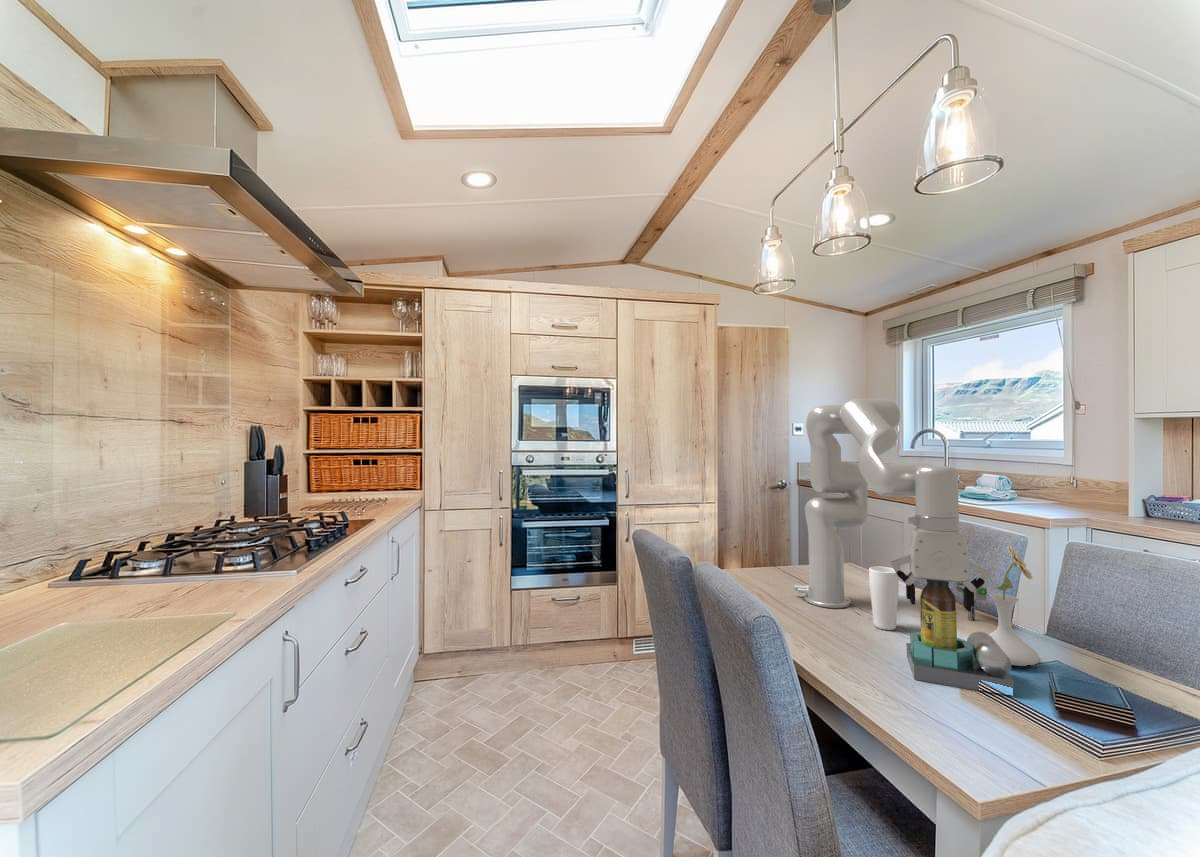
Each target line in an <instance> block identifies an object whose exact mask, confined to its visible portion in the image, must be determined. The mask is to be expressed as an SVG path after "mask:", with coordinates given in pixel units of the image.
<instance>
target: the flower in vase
mask: <svg viewBox="0 0 1200 857" xmlns="http://www.w3.org/2000/svg"><path fill="white" fill-rule="evenodd" d="M1006 549H1007V551H1008V553H1009V555H1010V557H1011V559H1012V563H1011V565H1010V566H1009V568H1008V569H1007V570H1006V572H1005V574H1004V578H1003V583H1002V584H1001V585H1000V586H998V587H997V588H996V589H997V590H1001V591H1002V593H990V594H989V597H990V598H991V600H993V602H994V605H995V607H996V611H997V616H998V617H997V622H998V624H997V627H996V629H995V630H994V631H992V632H990V633H988V634H989V635H990V636H991V637H992V638H993V639H994V640H995V641H996V643H997V644H998V645H999V646H1000V648H1001V649H1002V650H1003V651H1004V653H1005V654H1006V655H1007V657H1008V658H1009V659H1010V661H1011V666H1017V667H1028V666H1027V665H1031V666H1036V665H1037V664H1038V663H1040V661H1041V658H1040V655H1039V654H1038V653H1037V651H1036V650H1034V648H1033V647H1031V646H1030V645H1029V644H1028V643H1026V642H1025V641H1024V640H1022V639H1021V638H1020V637H1019V636H1018V635H1017V634H1016V633H1015V632H1014V630H1013V626H1012V614H1013V613H1012V612H1013V610H1014V609H1013V608H1014V607H1015V605H1016V603H1017V602H1019V600H1020V599H1019V598H1018V597H1016V596H1013V595H1009V594H1006V591H1007V590H1009V589H1013V588H1014V585H1013V584H1012V581H1011V579H1010V578H1009V577H1008V576H1009V573H1010V571H1011V569H1012V568H1013V567H1014V566H1015V567H1018V569H1019V570H1020V572H1021V573H1022V574H1023V576H1025V577H1026V578H1027V579H1028V580H1033V577H1032V576H1033V574H1032V572H1030V570H1029V569H1028V568H1026V567H1027V565H1026V563H1025V561H1022V560H1021V557H1020V555H1019V553H1018V552H1017V551H1016V552H1015V549H1014V547H1013V545H1009V544H1007V545H1006ZM1035 664H1036V665H1035Z"/></svg>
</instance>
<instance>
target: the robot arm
mask: <svg viewBox="0 0 1200 857" xmlns="http://www.w3.org/2000/svg"><path fill="white" fill-rule="evenodd" d="M900 420H901V411H900V408H899V406H898V405H897V404H896V403H895V402H894V400H891V399H889V398H853V399H850V400H848V401H846V402H844V403H843V404H826V405H819V406H816V407H813V408H812V409H810V411H809V412H808V414H807V417H806V422H805V428H806V434H807V437H808V442H809V446H810V455H809V456H810V458H809V459H810V464H809V465H810V467H809V468H810V470H809V472H810V474H809V475H810V484H811V485H810V486H811V487H812V489H813V490H814V491H815V492H817V493H826V494H830V493H831V494H832V493H833V494H834V493H835V494H842V493H843V494H844V496H820V497H813V498H811V499H809V500H808V501H807V502H806V504H805V505H804V517H805V522H806V525H807V526H806V527H807V532H808V533H807V535H808V560H809V563H808V564H809V565H808V568H809V570H808V571H809V582H808V584H805V585H803V584H802V585H801V584H798V583H797V584H796V583H794V585H793V589H794V591H796V592H797V593H801V594H804V600H805V602H807V603H808V602H809V604H811V605H814V606H817V607H821V608H829V609H842V608H848V607H850V606H851V599H849V598H848V597H847V596H845V562H844V561H845V560H844V559H845V558H844V557H845V556H844V545H843V544H844V543H843V541H842V539H841V537H840V536H839V535H838V533H837V531H836V530H838V529H859V528H862V527H863V526H864V525H865V524H866V522H867V519H868V510H869V509H868V506H869V505H868V503H869V502H868V501H869V498H868V497H869V496H868V495H869V494H868V493H869V492H868V491H869V488H868V487H870V488H871V490H872V491H873V492H875V493H876V494H878V495H879V496H882V497H887V498H892V497H893V498H895V497H896V498H897V497H901V498H902V497H903V498H906V497H910V498H911V497H912V498H915V515H914V516H911V517H908V518H907V523H908V524H912V525H914V526H915V527H916V528H913V529H912V532H911V538H910V545H909V547H910V548H909V554H908V555H905V556H902V557H900V558H897V559H894V560H892V561H890V565H891V568H893V569H894V570H895V572H896V574H897V575H898V576H899V579H901V580H902V582H904V583H905V595H906V596H905V597H906V599H907V600H909V602H910V604H911V605H916V586H915V584H914V583H916V581H917V580H918V579H921V580H927V579H928V580H938V581H948V582H949V583H950V582H951V583H956V582H962V583H963V584H964V585H965V588H964V589H963V595H962V597H963V599H962V600H963V601H962V602H963V608H964V609H965V610H966V611H967V612H968V611H971V606H973V607H974V592H975V591H976V589H978V588H979V587H981V586H984V585H985V584H986V581H987V579H988V578H989V576H990V575H991V572H990V570H989V569H987V568H986V567H984V566H981V565H979V564H977V563H975V562H973V561H972V560H970V557H969V548H968V544H967V539H966V535H965V533H964V532H963V531H960V512H959V510H960V509H959V508H960V507H959V506H960V504H959V474H958V472H957V470H956V469H955V468H954V467H951V466H948V465H946V466H945V465H931V464H928V463H910V462H909V463H907V462H906V463H901V462H900V463H886V462H884V460H882V459H881V457H880V456H881V455H883V454H885V453H886V452H888V451H890V450H891V449H892V448H893V447H894V446H895V444H896V442H897V439H898V434H897V432H896V430H895V429H894V428H896V427H897V426H898V424H899V422H900ZM836 434H838V435H839V434H840V435H852V436H853V438H854V439H855V441H856V442H857V443H858V444H859V445H860V449H859V451H858V454H857V462H856V461H849V460H848V461H842V447H841V444H840V442H839V441H838V439H837V438H836V436H835V435H836ZM906 564H909V570H910V572H909V573H908V574H907V573H905V572H903V570H902V569H901V566H904V565H906ZM971 570H973V571H975V572H977V573H978V574H977V577H976V576H975V578H974V579H973V580H971V581H970V579H971Z"/></svg>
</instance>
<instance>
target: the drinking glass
mask: <svg viewBox="0 0 1200 857" xmlns="http://www.w3.org/2000/svg"><path fill="white" fill-rule="evenodd" d="M868 584H869V585H868V586H869V587H868V588H869V594H870V595H869V596H870V603H871V612H872V625H873V626H874V627H875V628H877V629H880V630H884V631H894V630H896V629H897V625H898V624H897V621H898V620H897V617H898V605H899V604H898V603H899V602H898V601H899V593H900V592H899V591H900V590H899V589H900V577H899V576H898V575H897V574H896V572H895V570H894V569H893V567H887V566H880V565H879V566H876V565H875V566H870V567H869V568H868Z"/></svg>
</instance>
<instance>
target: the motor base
mask: <svg viewBox="0 0 1200 857" xmlns="http://www.w3.org/2000/svg"><path fill="white" fill-rule="evenodd" d="M989 634H990V633H987V632H984V631H974V632H972V633H971V634H969V635H968V637H967V639H966V640H965V639H962V638H960V637H957V649H956V650H952V649H945V648H938V647H933V646H931V645H928V644H926V643H923V642H921V631H917V632H910V634H909V640H910V641H909V642H906V657H907V662H908V664H909V667H910V671H911V673H912V677H913V679H914V681H919V682H926V683H932V684H936V685H944V686H948V687H955V688H960V689H966V690H971V691H977V692H981V691H980V690H979V686H978V684H979V681H981V680H983V681H987V682H992V683H995V684H1000V685H1003V686H1007V687H1011V688H1014V689H1015V687H1014V684H1015V682H1014V680H1013V678H1012V676H1010V671H1011V669H1012V665H1011V661H1010V659H1009V658H1008V657H1007V655H1006V654H1005V653H1004V651H1003V650H1002V649H1001V648H1000V646H999V645H998V644H997V643H996V641H995V640H994V639H993V638H992V637H991V636H990V635H989Z"/></svg>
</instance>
